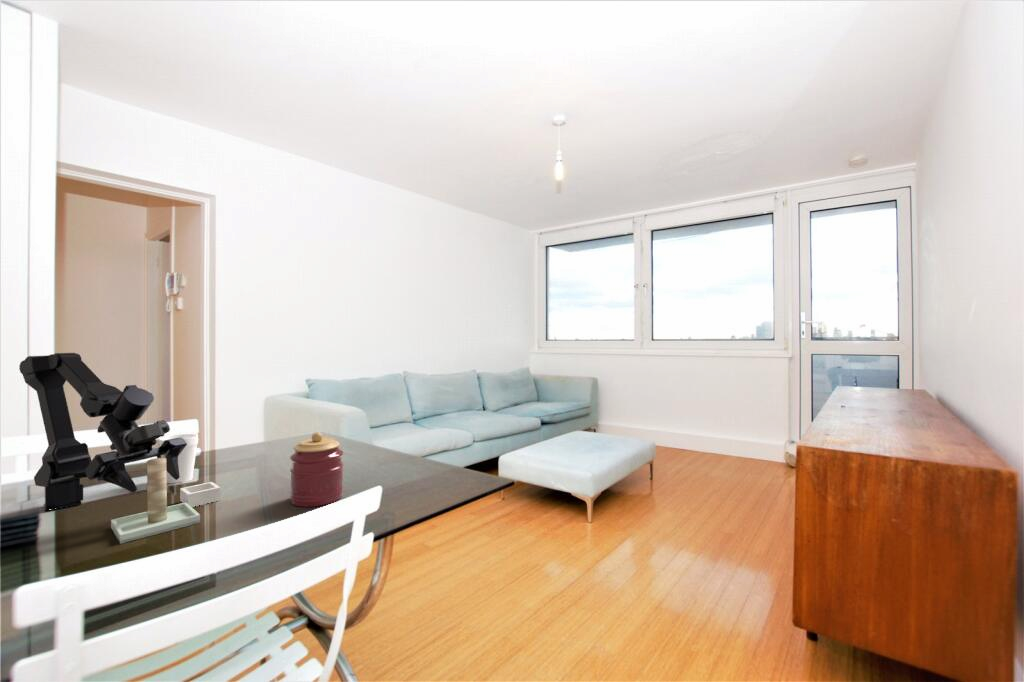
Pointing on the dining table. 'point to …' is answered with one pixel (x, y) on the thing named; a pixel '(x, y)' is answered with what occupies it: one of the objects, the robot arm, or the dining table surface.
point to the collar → (200, 494)
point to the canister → (316, 472)
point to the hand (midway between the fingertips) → (157, 484)
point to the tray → (140, 528)
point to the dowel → (157, 490)
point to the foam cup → (184, 457)
